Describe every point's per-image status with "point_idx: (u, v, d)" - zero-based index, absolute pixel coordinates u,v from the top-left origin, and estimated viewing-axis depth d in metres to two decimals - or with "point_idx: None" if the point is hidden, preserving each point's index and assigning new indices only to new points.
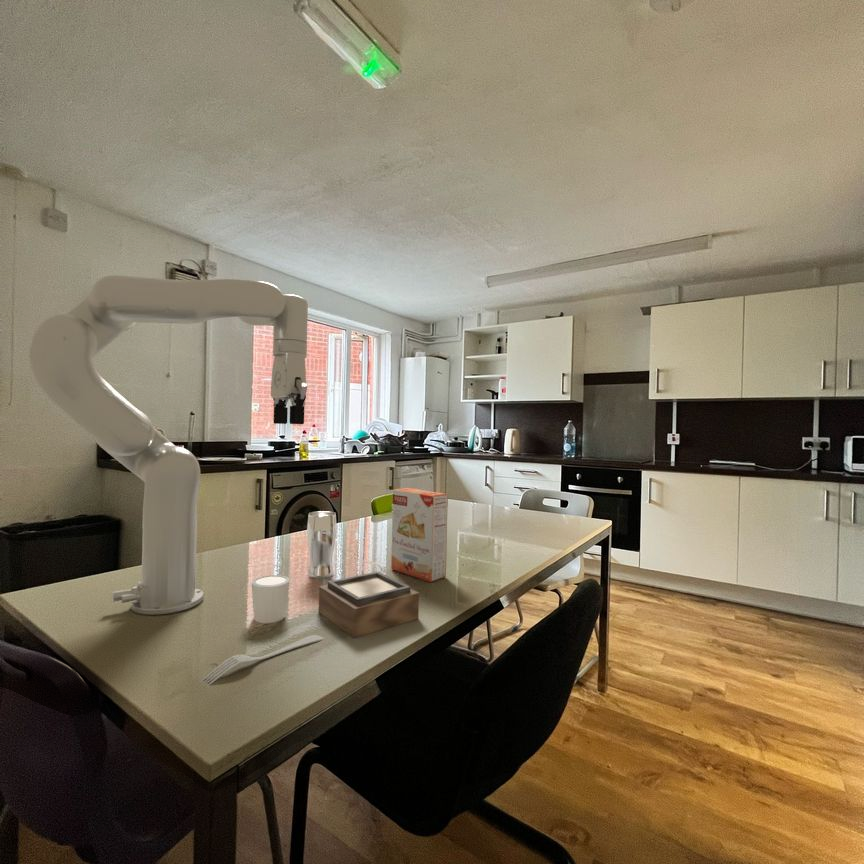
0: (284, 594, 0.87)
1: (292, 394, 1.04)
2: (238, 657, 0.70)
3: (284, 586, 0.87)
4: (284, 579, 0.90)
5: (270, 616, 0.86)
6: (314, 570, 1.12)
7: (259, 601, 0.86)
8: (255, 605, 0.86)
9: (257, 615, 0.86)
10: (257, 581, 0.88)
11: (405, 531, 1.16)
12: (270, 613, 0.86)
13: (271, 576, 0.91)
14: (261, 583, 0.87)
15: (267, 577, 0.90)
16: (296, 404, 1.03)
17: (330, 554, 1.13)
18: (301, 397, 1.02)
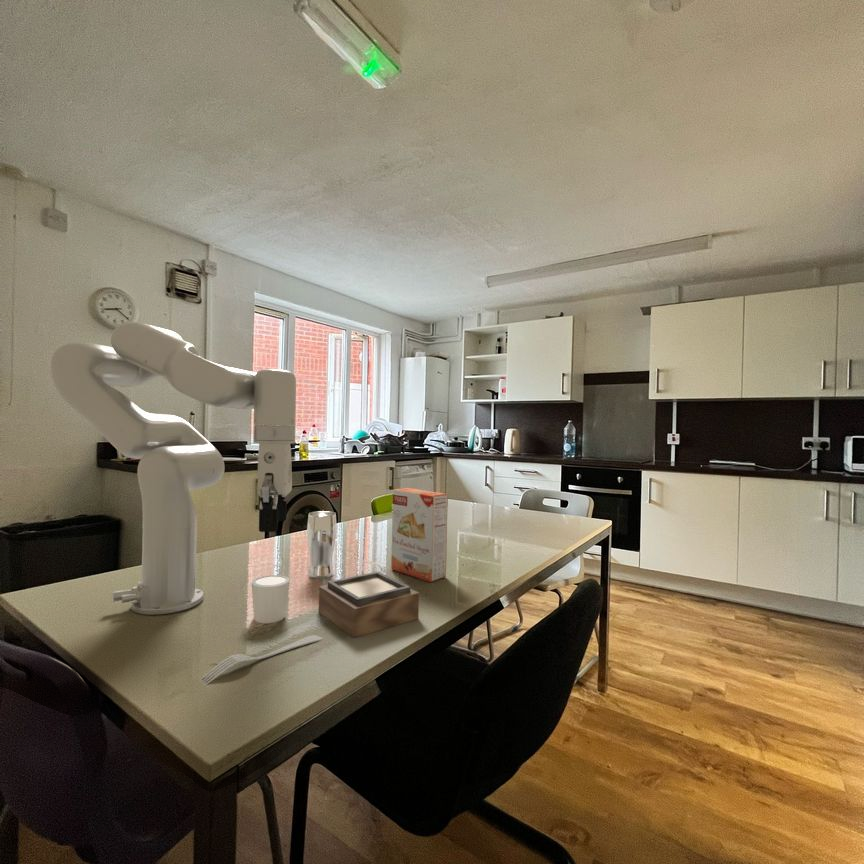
0: (284, 594, 0.87)
1: None
2: (237, 657, 0.70)
3: (284, 586, 0.87)
4: (284, 579, 0.90)
5: (270, 616, 0.86)
6: (314, 570, 1.12)
7: (259, 601, 0.86)
8: (255, 605, 0.86)
9: (257, 615, 0.86)
10: (257, 581, 0.88)
11: (405, 531, 1.16)
12: (270, 613, 0.86)
13: (271, 576, 0.91)
14: (261, 583, 0.87)
15: (267, 577, 0.90)
16: None
17: (330, 554, 1.13)
18: None
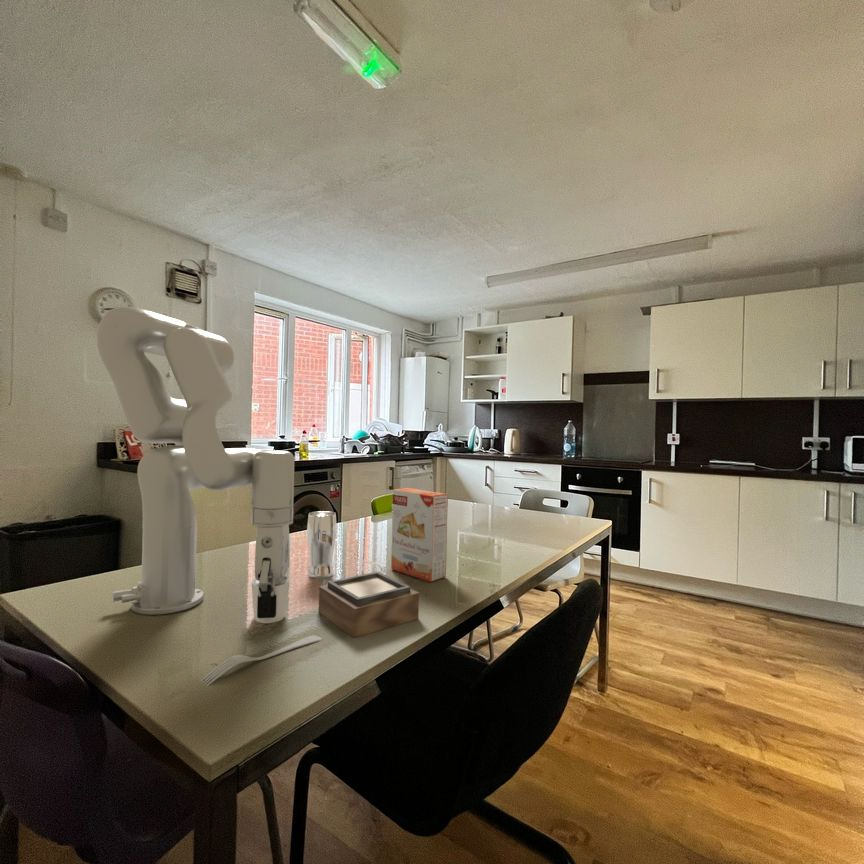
0: (284, 594, 0.87)
1: None
2: (238, 657, 0.70)
3: (284, 586, 0.87)
4: (284, 579, 0.90)
5: None
6: (314, 570, 1.12)
7: None
8: (255, 605, 0.86)
9: None
10: (257, 581, 0.88)
11: (405, 531, 1.16)
12: None
13: (271, 576, 0.91)
14: None
15: None
16: None
17: (330, 554, 1.13)
18: None
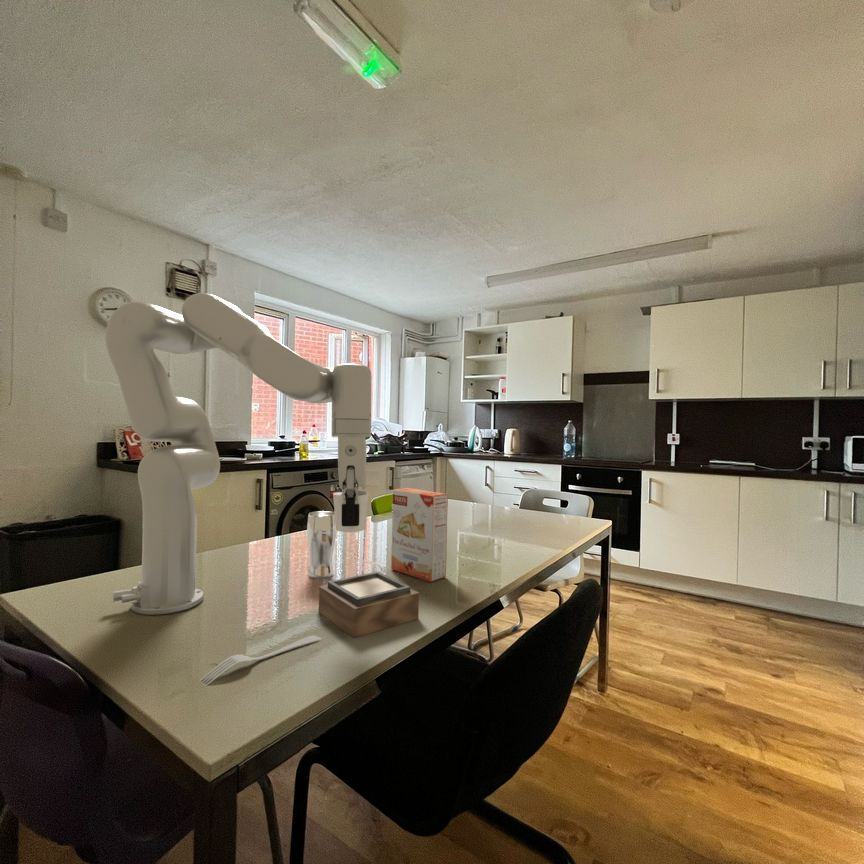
0: (365, 505, 0.89)
1: None
2: (237, 657, 0.70)
3: (365, 497, 0.88)
4: (363, 492, 0.91)
5: None
6: (314, 570, 1.12)
7: None
8: (338, 515, 0.88)
9: (340, 525, 0.88)
10: (338, 493, 0.89)
11: (405, 531, 1.16)
12: None
13: None
14: None
15: None
16: None
17: (330, 554, 1.13)
18: None
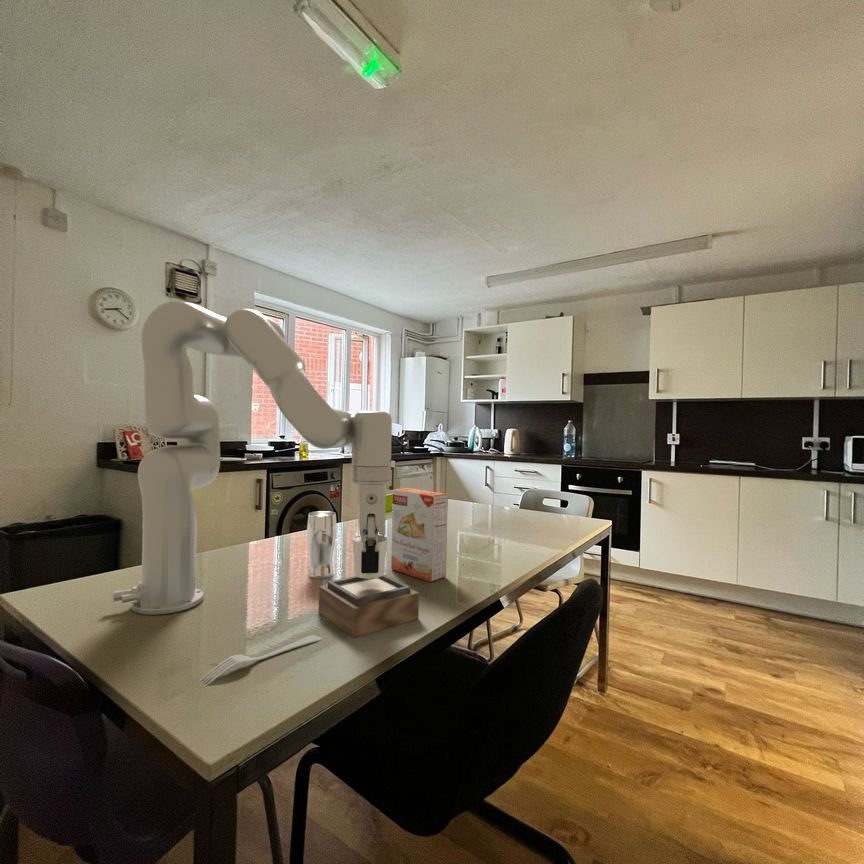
0: (384, 551, 0.89)
1: None
2: (236, 658, 0.70)
3: (385, 543, 0.89)
4: (382, 537, 0.91)
5: None
6: (314, 570, 1.12)
7: None
8: (357, 561, 0.88)
9: (359, 571, 0.88)
10: (357, 538, 0.90)
11: (405, 531, 1.16)
12: None
13: None
14: (362, 540, 0.89)
15: None
16: None
17: (330, 554, 1.13)
18: None
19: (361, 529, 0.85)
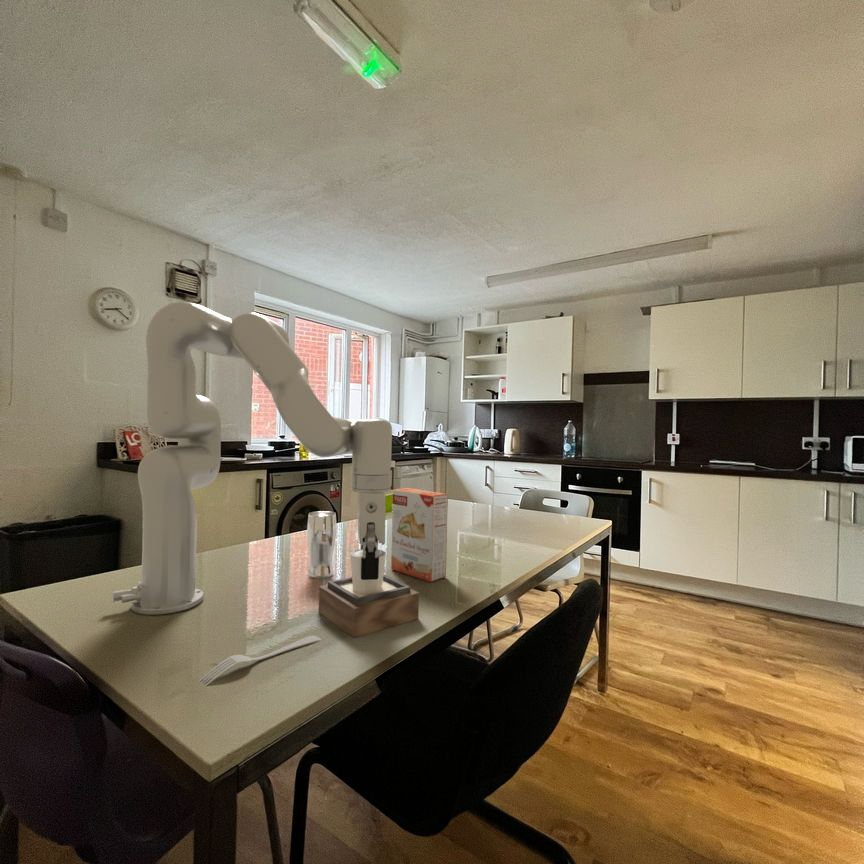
0: (382, 566, 0.89)
1: None
2: (236, 658, 0.69)
3: (383, 558, 0.89)
4: (380, 552, 0.91)
5: (370, 587, 0.88)
6: (314, 570, 1.12)
7: (360, 572, 0.87)
8: (355, 576, 0.88)
9: (357, 586, 0.88)
10: (355, 553, 0.90)
11: (405, 531, 1.16)
12: (370, 584, 0.88)
13: None
14: (360, 555, 0.89)
15: None
16: None
17: (330, 554, 1.13)
18: None
19: (361, 538, 0.85)
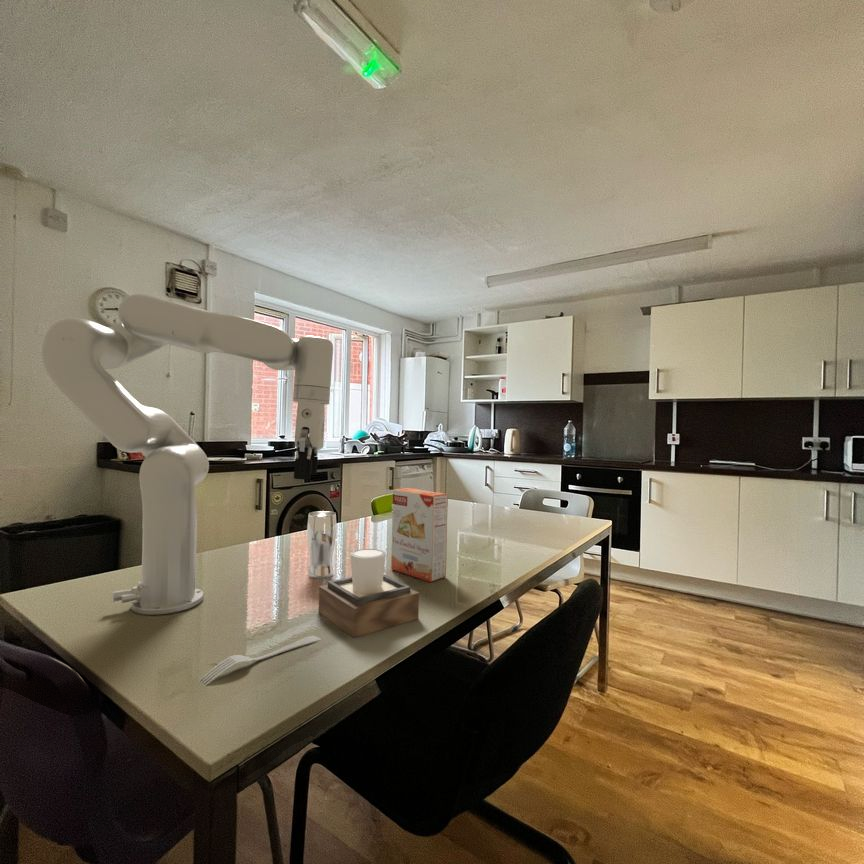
0: (382, 566, 0.89)
1: None
2: (236, 658, 0.69)
3: (383, 558, 0.89)
4: (380, 552, 0.91)
5: (370, 587, 0.88)
6: (314, 570, 1.12)
7: (360, 572, 0.87)
8: (355, 576, 0.88)
9: (357, 586, 0.88)
10: (355, 553, 0.90)
11: (405, 531, 1.16)
12: (370, 584, 0.88)
13: (366, 549, 0.93)
14: (360, 555, 0.89)
15: (362, 550, 0.92)
16: None
17: (330, 554, 1.13)
18: None
19: (296, 440, 0.94)
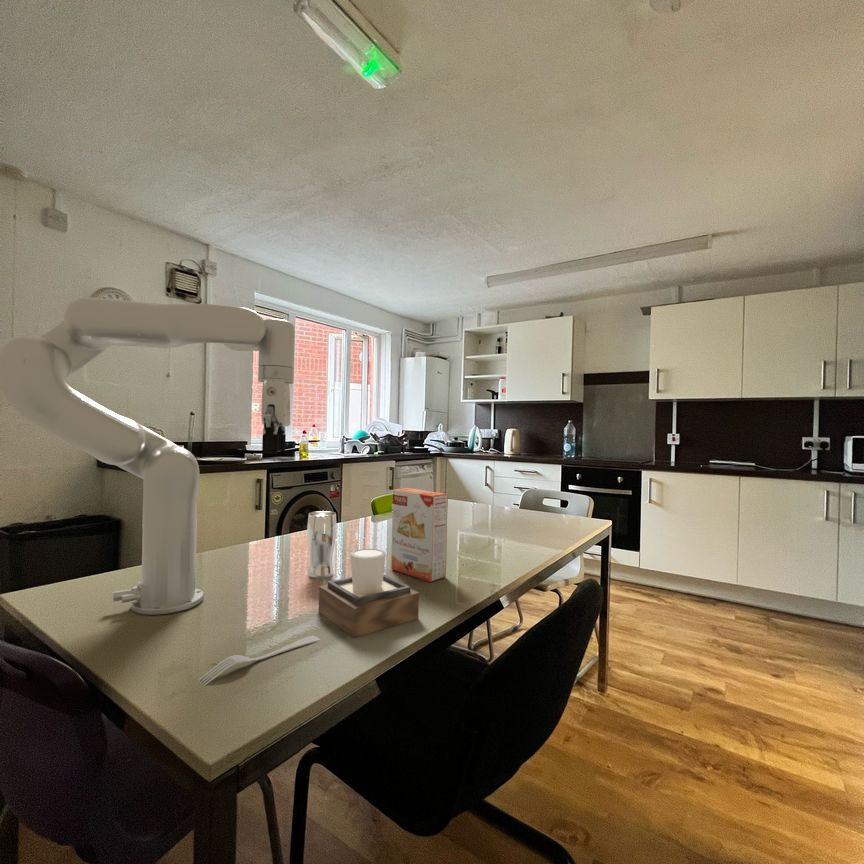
0: (382, 566, 0.89)
1: None
2: (235, 658, 0.69)
3: (383, 558, 0.89)
4: (380, 552, 0.91)
5: (370, 587, 0.88)
6: (314, 570, 1.12)
7: (360, 572, 0.87)
8: (355, 576, 0.88)
9: (357, 586, 0.88)
10: (355, 553, 0.90)
11: (405, 531, 1.16)
12: (370, 584, 0.88)
13: (366, 549, 0.93)
14: (360, 555, 0.89)
15: (362, 550, 0.92)
16: None
17: (330, 554, 1.13)
18: None
19: (262, 417, 0.99)
